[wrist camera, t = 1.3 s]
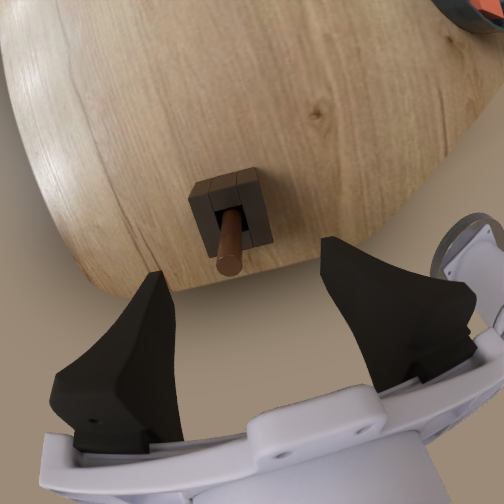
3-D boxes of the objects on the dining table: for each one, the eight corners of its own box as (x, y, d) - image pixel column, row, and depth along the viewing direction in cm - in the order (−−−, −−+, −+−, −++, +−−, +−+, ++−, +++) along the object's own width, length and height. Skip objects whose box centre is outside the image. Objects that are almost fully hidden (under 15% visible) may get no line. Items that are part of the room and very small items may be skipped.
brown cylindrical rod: (245, 201, 24) (247, 265, 16) (233, 213, 25) (231, 281, 16) (232, 190, 24) (227, 250, 15) (221, 203, 24) (210, 267, 16)
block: (482, 20, 14) (504, 18, 11) (459, 13, 14) (482, 9, 11) (474, -8, 12) (495, -12, 9) (451, -16, 13) (472, -23, 10)
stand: (255, 166, 23) (257, 179, 20) (269, 221, 25) (273, 243, 22) (195, 182, 23) (187, 198, 20) (213, 235, 26) (209, 258, 22)
